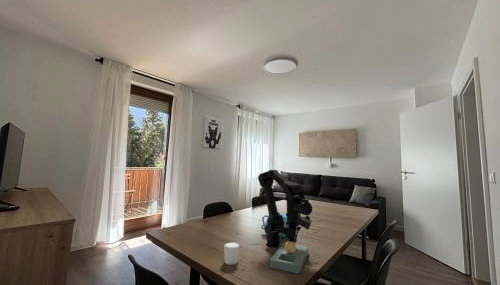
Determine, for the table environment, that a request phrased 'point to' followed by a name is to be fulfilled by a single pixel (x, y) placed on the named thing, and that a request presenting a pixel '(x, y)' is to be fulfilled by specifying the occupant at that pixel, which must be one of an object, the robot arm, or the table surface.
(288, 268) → the deck
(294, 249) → the ball
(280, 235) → the decorative pot
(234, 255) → the white cylinder
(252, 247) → the table surface
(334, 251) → the table surface
